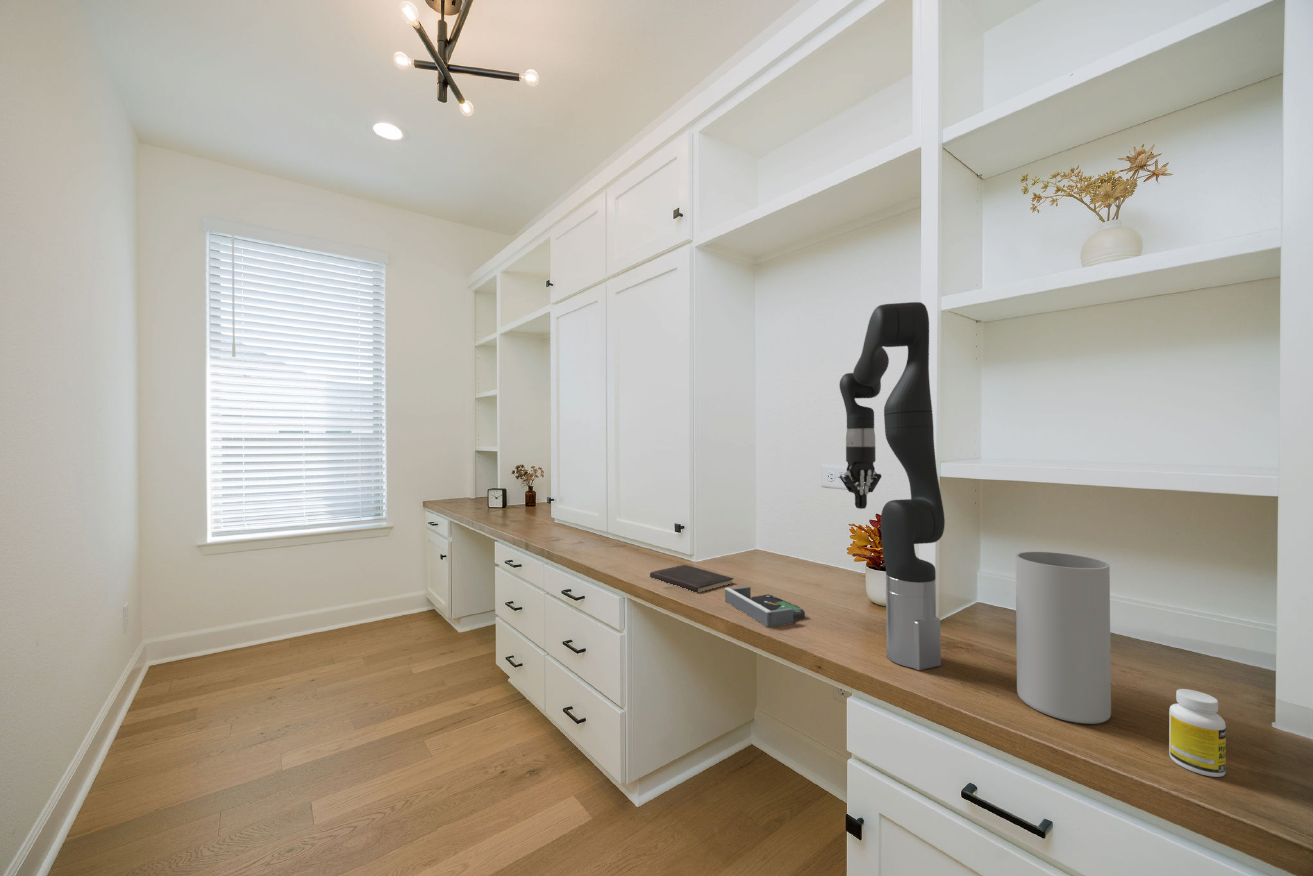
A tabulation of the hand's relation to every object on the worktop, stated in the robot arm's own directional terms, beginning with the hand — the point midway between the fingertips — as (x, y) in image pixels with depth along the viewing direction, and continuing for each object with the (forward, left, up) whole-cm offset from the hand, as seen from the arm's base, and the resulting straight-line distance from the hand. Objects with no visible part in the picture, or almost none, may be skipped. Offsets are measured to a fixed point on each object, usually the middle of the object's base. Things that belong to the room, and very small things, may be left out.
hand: (861, 508), depth 138 cm
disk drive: (+6, +25, -28) cm, 38 cm away
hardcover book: (+41, +33, -28) cm, 59 cm away
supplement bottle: (-70, +6, -27) cm, 75 cm away
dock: (+7, +29, -27) cm, 40 cm away
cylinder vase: (-53, +6, -27) cm, 60 cm away
